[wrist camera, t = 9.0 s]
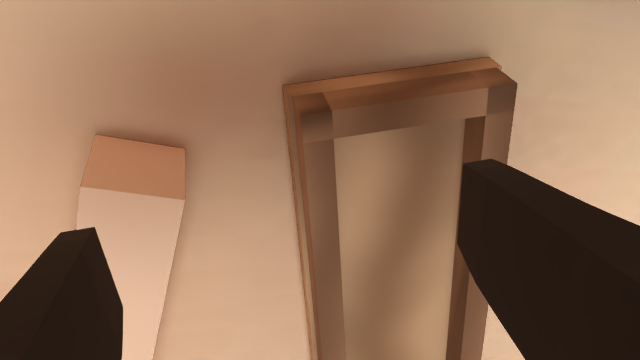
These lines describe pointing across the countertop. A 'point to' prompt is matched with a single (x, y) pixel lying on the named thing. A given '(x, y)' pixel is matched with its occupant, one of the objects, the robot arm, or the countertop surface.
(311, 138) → the rack
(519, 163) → the countertop surface
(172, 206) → the beige rectangular block
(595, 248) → the robot arm
